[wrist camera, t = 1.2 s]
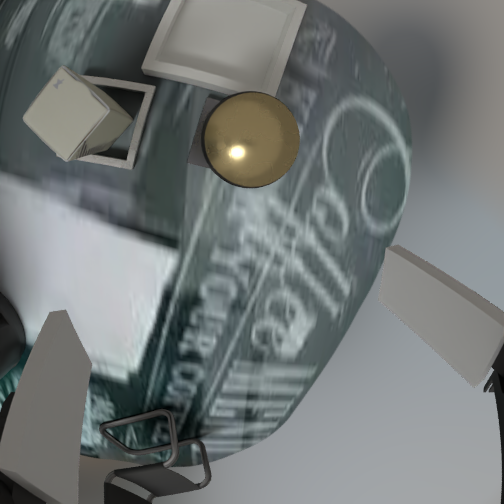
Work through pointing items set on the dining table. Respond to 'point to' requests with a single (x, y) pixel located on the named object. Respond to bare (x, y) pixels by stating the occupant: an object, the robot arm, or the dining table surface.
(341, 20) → the dining table surface
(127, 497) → the chair
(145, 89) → the pin seat
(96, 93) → the box
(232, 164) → the mounted dome knob
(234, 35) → the tray
